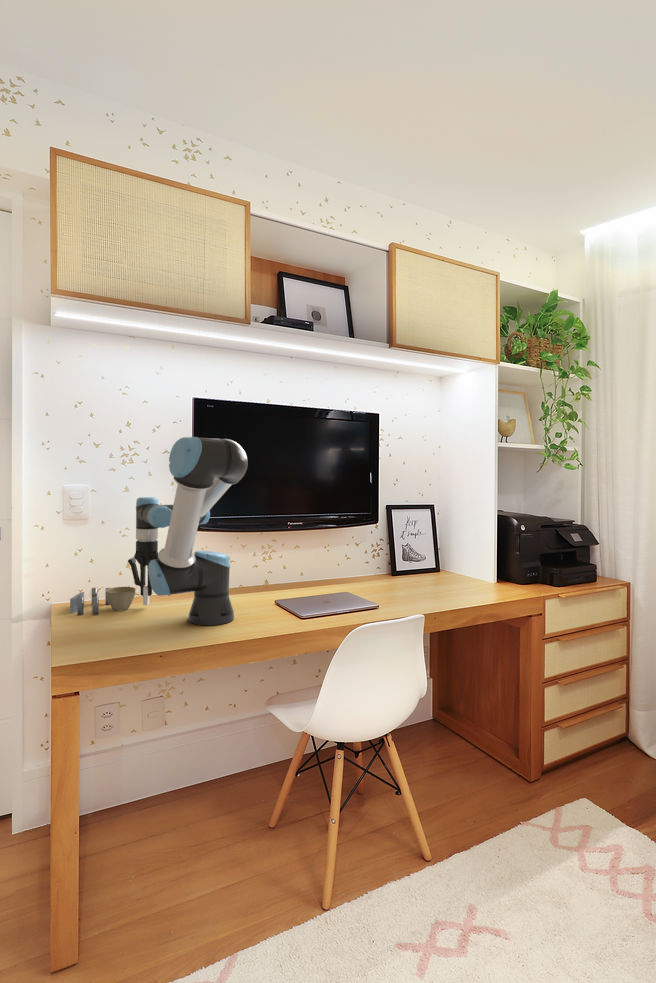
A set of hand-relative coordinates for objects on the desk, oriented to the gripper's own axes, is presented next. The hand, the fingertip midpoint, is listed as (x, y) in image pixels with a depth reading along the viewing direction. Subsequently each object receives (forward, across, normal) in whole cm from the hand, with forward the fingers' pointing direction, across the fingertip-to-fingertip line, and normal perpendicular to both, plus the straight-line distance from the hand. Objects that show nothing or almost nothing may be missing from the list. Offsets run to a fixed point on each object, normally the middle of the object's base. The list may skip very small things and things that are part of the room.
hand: (146, 604), depth 191 cm
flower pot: (+2, +9, 0) cm, 9 cm away
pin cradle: (+2, +20, +1) cm, 20 cm away
